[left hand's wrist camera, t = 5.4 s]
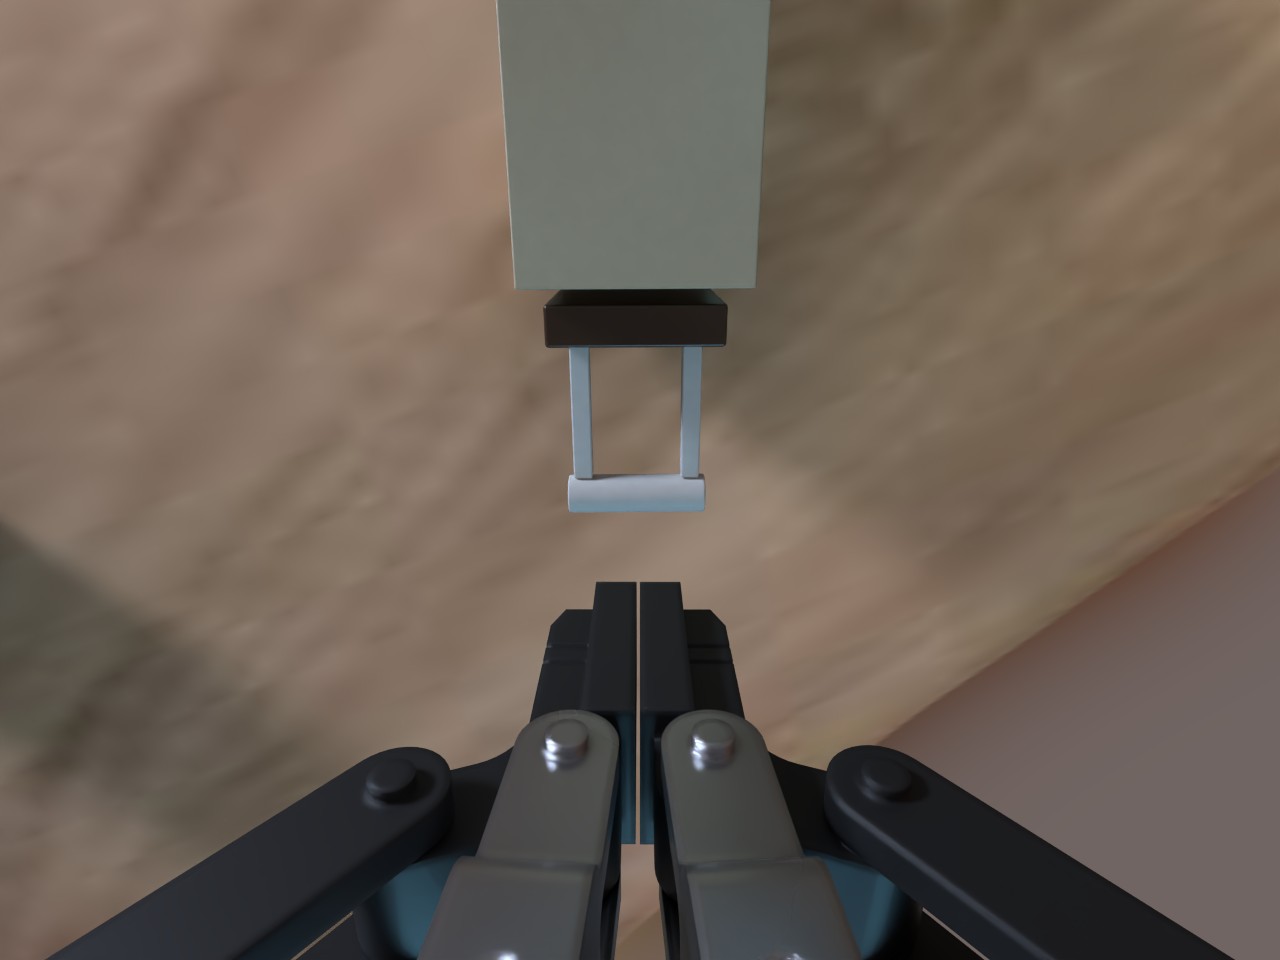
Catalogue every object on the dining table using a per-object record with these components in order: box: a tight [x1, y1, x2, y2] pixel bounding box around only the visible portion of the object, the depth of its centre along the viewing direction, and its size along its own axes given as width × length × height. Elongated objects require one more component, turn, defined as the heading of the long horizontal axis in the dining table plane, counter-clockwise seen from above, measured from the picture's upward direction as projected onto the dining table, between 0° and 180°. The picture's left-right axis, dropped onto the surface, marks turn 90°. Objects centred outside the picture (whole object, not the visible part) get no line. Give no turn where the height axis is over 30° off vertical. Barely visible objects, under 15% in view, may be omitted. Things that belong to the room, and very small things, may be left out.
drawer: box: [543, 289, 728, 512], centre depth 21 cm, size 22×5×6 cm, turn 0°
